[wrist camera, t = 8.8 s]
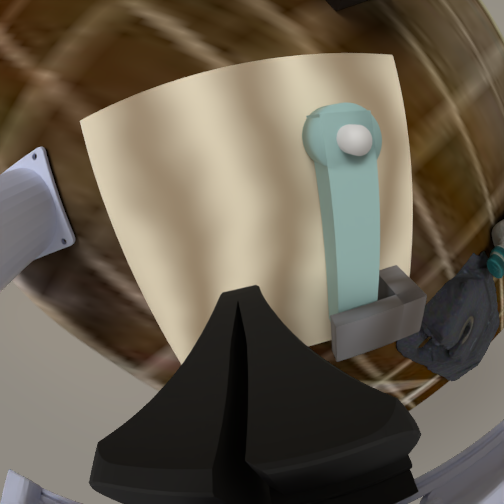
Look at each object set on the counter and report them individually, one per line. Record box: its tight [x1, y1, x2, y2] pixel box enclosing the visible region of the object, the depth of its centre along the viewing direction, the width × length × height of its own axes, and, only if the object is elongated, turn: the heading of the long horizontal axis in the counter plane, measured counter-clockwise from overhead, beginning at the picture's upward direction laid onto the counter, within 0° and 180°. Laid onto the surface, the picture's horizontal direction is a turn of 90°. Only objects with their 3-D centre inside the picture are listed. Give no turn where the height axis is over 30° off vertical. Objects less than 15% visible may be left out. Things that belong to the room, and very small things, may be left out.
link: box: [302, 103, 382, 321], centre depth 16 cm, size 16×4×3 cm, turn 11°
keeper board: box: [80, 53, 427, 364], centre depth 16 cm, size 21×22×6 cm
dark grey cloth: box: [397, 251, 499, 381], centre depth 25 cm, size 15×22×5 cm
